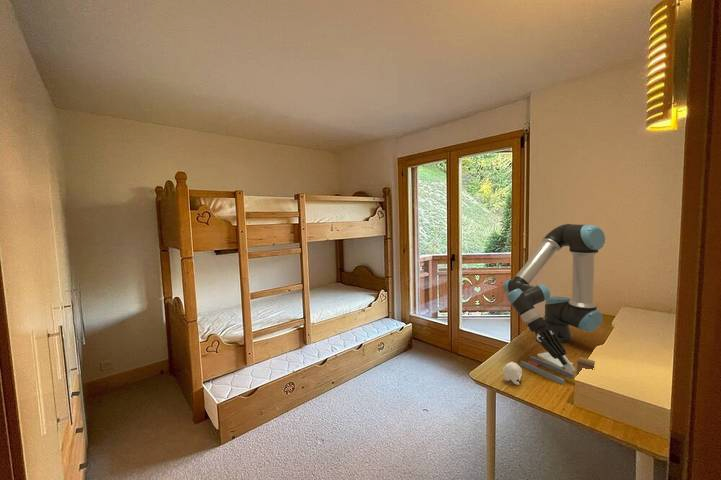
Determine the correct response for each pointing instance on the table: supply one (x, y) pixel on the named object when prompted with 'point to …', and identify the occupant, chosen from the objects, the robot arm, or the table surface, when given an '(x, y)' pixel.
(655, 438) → the table surface
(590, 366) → the walnut block
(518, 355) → the table surface
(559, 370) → the channel
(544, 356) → the external hard drive
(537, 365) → the pad
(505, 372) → the white figurine
